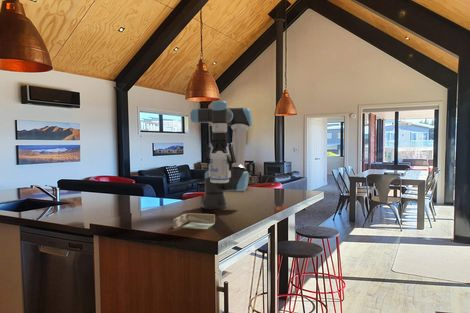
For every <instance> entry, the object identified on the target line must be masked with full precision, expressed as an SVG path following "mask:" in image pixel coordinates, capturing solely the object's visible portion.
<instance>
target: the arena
mask: <svg viewBox="0 0 470 313" xmlns="http://www.w3.org/2000/svg"><path fill="white" fill-rule="evenodd" d="M186 223H187V224H186ZM215 224H216V214H215V213H214V214H212V213H211V214H210V213H191V212H185V213H183V214H181V215H179V216H177V217H176V218H173V219H172V229H177V228H179V227H181V226H182V227H181V228H182V229H192V230H193V229H194V230H208V229H210V228H211V227H213V226H214V225H215Z"/></svg>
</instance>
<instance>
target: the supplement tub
mask: <svg viewBox="0 0 470 313" xmlns="http://www.w3.org/2000/svg"><path fill="white" fill-rule="evenodd" d="M210 155H211V156H209V157H210V182H212V183H227V182H229V178H227V164H229V163H228V161H227V155H229V156H230V152H228V153H223V152H216V153H212V152H210Z"/></svg>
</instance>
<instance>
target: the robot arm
mask: <svg viewBox="0 0 470 313" xmlns="http://www.w3.org/2000/svg"><path fill="white" fill-rule="evenodd" d="M189 117H190V121H191V123H194V124H205V123H206V124H211V131H212V133H211V141H212V142H211V143H206V150H205V153H204V154H205V155H204V159H203V162H204V163H205V164H206V166H207V171H205V173H204V198H203V200H202V203H201V208H202V209H205V210H224V209H226V208H228V206H227V205H228V204H227V201H226V196H225V191H228V192H229V191H233V192H243V191H246V189H247V188H248V185H249V179H250V172H249V171H247V168H246V167H245V163H246V162H245V161H246V160H245V158H246V145H247V144H246V143H247V132H248V131H249V130H250V127H251V126H253V119H252V118H253V117H252V111H251V109H250V108H249V107H233V108H232V107H228V103H227V101H224V100H215V101H212V103H211V108H194V109H193V108H192V109H191V110H190V116H189ZM228 127H230V128H231V129H232V138H231V139H232V142H229V143H228V133H227V132H228ZM227 147H228V149H227ZM218 152H221V153H229V155H227V161H228V163H229V164H227V178H229V182H227V183H212V182H210V156H211V153H218Z"/></svg>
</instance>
